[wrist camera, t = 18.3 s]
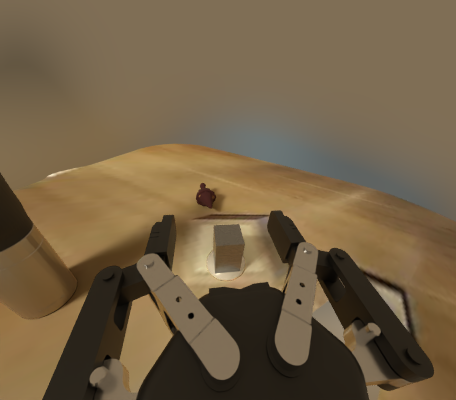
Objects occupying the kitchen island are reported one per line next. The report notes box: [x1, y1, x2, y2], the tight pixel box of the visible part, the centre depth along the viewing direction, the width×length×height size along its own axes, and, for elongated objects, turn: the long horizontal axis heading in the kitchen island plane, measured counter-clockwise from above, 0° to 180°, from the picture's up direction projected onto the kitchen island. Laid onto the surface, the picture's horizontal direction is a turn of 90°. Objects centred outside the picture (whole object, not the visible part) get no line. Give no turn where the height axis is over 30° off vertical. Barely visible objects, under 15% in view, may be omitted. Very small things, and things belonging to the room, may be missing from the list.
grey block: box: [213, 224, 245, 273], centre depth 43 cm, size 6×6×10 cm
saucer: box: [207, 251, 245, 281], centre depth 46 cm, size 10×10×1 cm
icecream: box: [196, 183, 216, 209], centre depth 64 cm, size 7×7×15 cm
